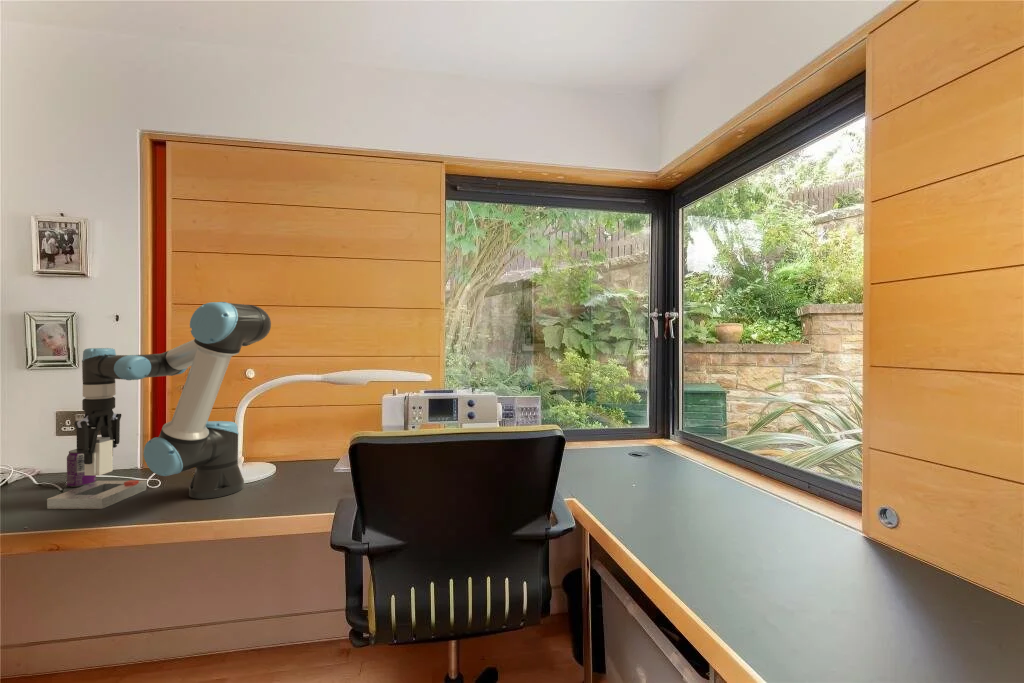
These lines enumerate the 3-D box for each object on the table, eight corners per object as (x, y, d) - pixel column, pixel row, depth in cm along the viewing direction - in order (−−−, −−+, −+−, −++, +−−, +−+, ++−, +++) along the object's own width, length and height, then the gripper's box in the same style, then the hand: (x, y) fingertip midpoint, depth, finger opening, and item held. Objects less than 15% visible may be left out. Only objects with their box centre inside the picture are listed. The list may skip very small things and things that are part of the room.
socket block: (146, 489, 145) (146, 478, 145) (102, 508, 129) (102, 496, 129) (97, 489, 145) (97, 478, 145) (47, 508, 129) (47, 496, 129)
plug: (112, 470, 139) (112, 436, 139) (99, 475, 135) (99, 440, 135) (98, 470, 139) (98, 436, 139) (84, 475, 135) (84, 439, 134)
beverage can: (101, 481, 153) (101, 447, 153) (82, 488, 146) (82, 452, 146) (80, 481, 153) (80, 447, 153) (60, 488, 146) (60, 452, 146)
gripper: (112, 393, 145) (111, 462, 146) (58, 401, 128) (58, 480, 128) (135, 393, 145) (134, 463, 146) (84, 401, 128) (84, 480, 128)
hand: (98, 471), depth 137 cm, fingers closed on plug, 4 cm apart
